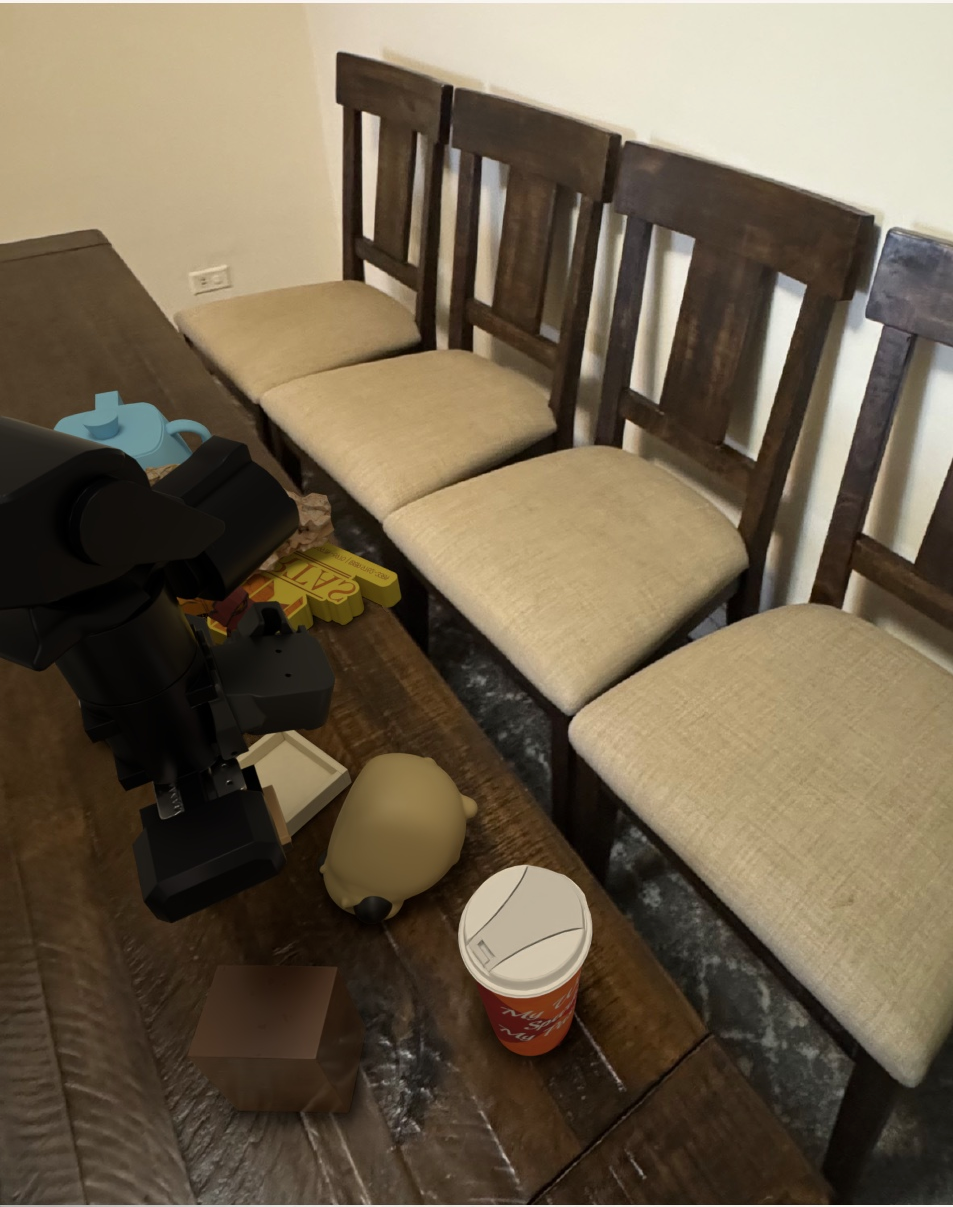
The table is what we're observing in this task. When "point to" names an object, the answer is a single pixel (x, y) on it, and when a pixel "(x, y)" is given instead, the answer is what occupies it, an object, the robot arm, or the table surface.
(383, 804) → the tan animal figurine
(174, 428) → the teapot
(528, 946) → the paper cup
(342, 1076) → the brown block
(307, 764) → the tray
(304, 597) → the decorative sign
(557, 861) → the table surface
